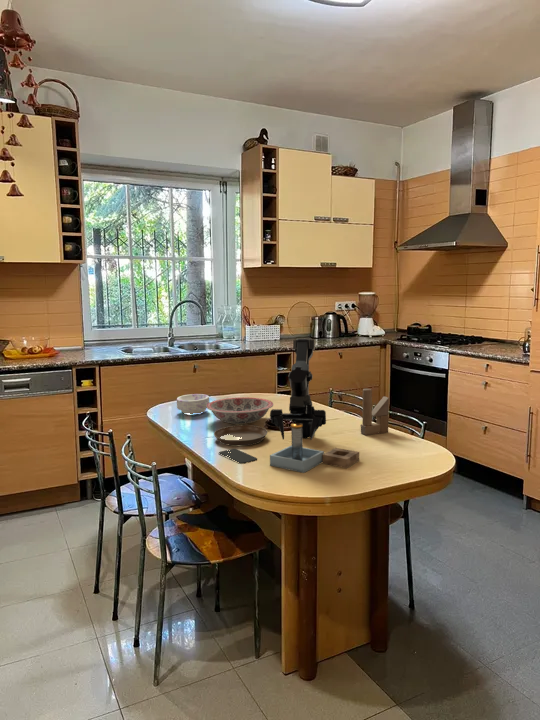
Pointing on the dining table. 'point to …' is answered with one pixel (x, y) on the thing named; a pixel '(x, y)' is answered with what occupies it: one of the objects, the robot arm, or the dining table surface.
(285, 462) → the tray
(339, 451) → the brown square socket base
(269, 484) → the dining table surface
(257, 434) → the plant saucer
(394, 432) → the dining table surface
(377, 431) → the wooden bracket stand
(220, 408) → the ceramic bowl
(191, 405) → the white purple bowl
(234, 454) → the phone
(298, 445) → the pin
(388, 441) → the dining table surface
